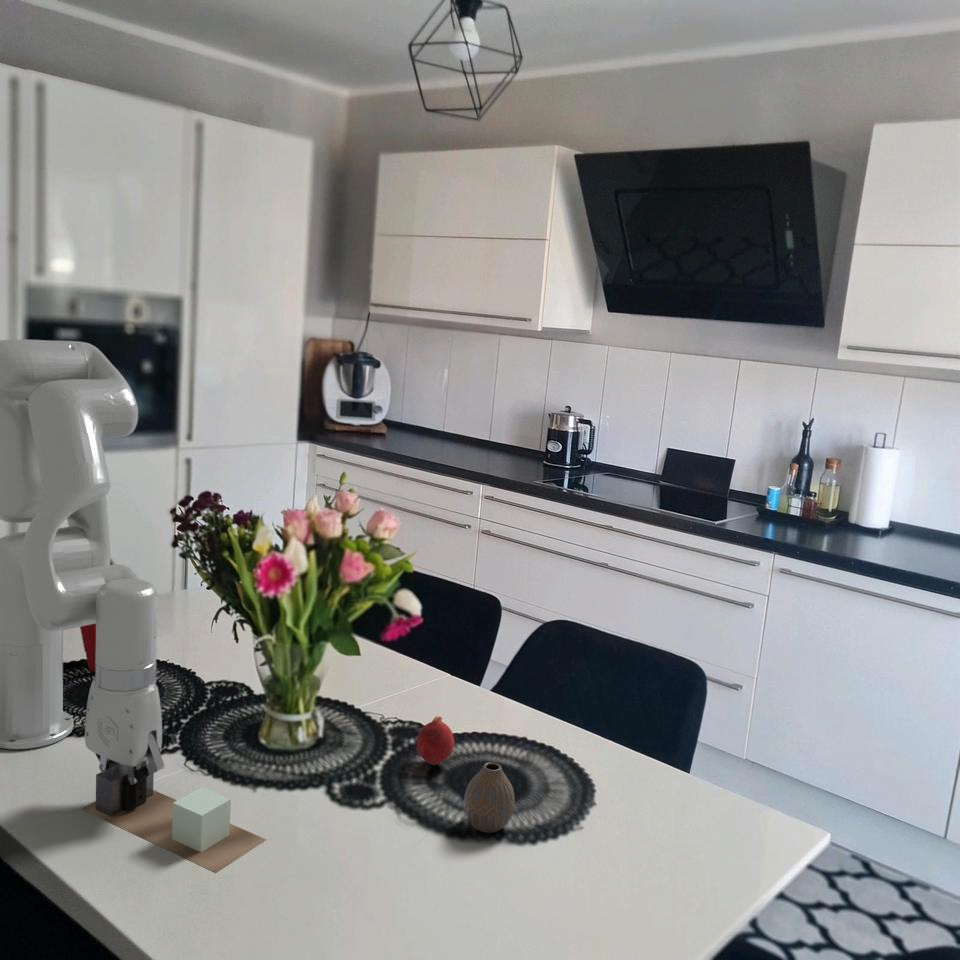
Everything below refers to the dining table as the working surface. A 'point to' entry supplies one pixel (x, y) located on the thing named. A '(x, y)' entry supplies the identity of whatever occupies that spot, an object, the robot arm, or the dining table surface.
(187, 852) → the board with grey block
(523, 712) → the dining table surface
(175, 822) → the sage block
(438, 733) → the red pomegranate
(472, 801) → the vase
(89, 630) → the plastic cup
